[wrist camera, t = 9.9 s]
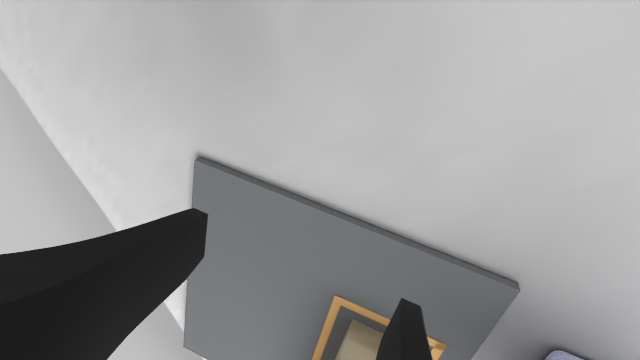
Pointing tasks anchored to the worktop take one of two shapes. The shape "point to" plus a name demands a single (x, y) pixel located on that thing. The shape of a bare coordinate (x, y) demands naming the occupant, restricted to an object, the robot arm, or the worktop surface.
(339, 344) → the rubber mat
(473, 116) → the worktop surface
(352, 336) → the cream block
